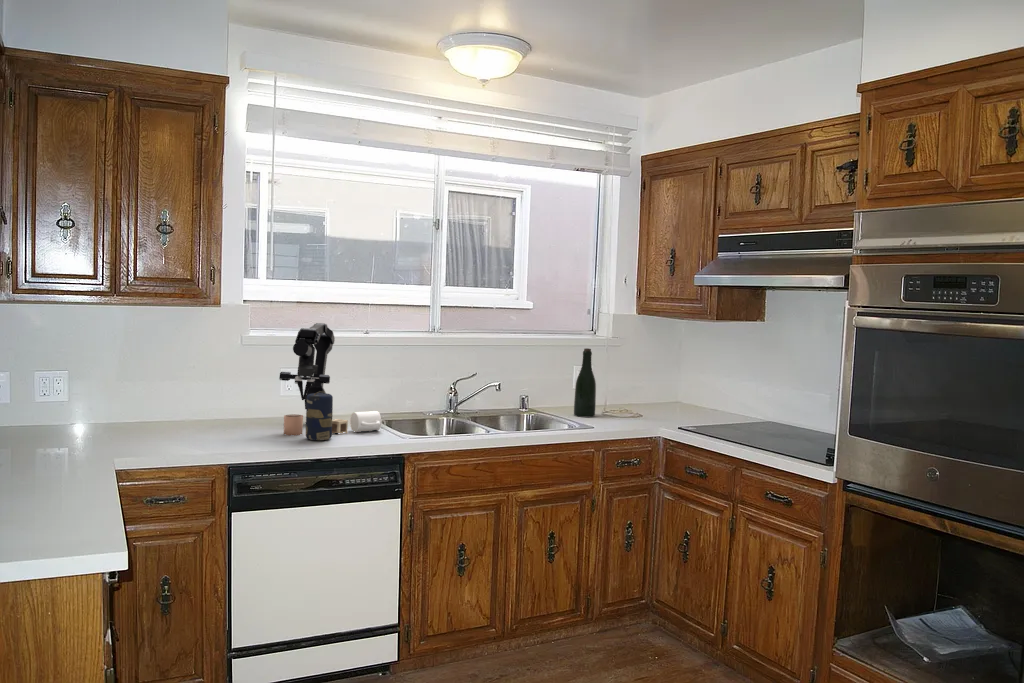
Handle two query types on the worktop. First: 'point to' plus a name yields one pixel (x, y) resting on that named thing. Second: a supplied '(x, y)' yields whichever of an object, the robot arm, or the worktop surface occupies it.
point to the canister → (319, 416)
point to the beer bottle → (585, 388)
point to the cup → (293, 424)
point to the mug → (365, 421)
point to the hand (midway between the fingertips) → (302, 400)
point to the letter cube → (339, 426)
